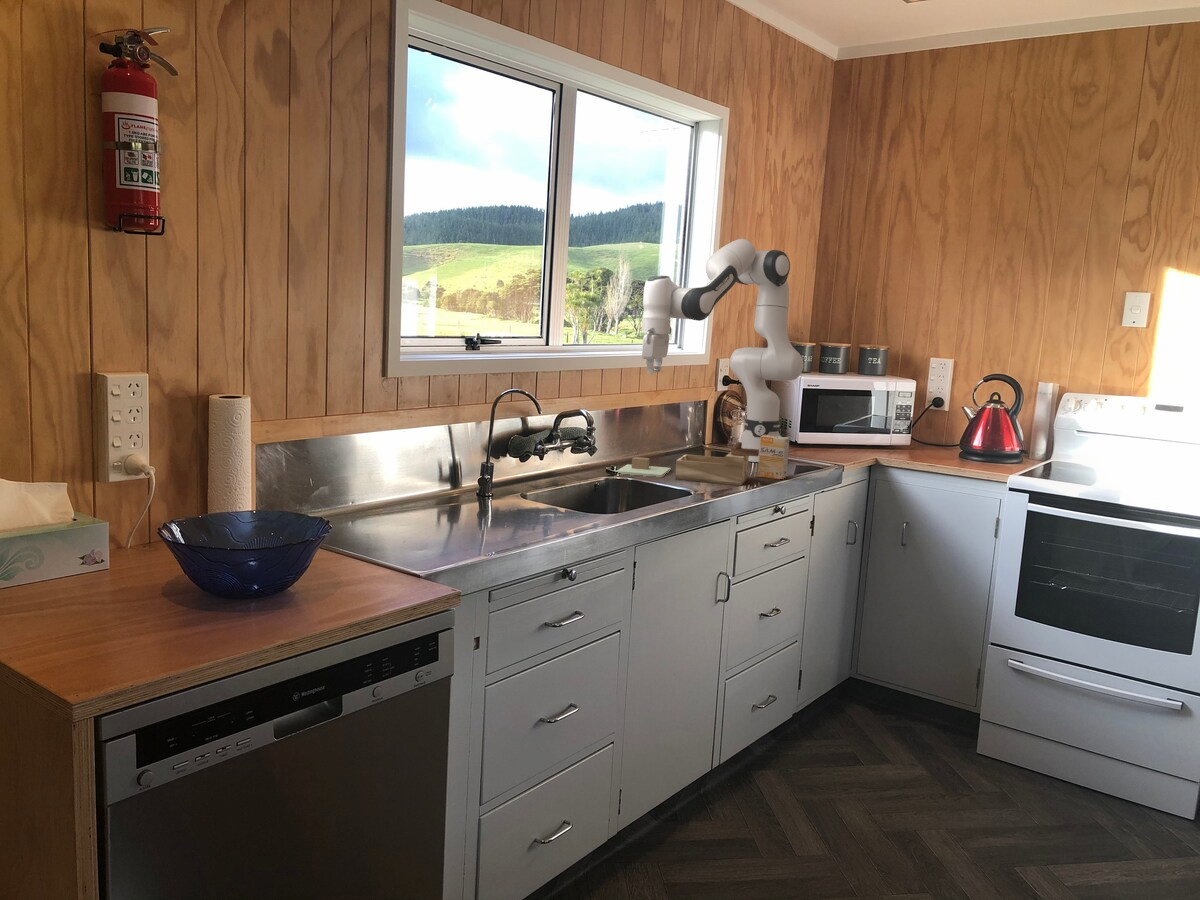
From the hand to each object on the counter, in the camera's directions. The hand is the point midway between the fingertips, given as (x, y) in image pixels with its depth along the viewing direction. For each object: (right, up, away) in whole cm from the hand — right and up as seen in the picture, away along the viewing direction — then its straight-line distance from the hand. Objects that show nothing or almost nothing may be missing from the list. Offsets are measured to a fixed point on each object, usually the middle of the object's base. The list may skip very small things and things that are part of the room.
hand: (654, 372), depth 301 cm
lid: (-3, -32, +1) cm, 32 cm away
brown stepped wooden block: (+27, -26, -13) cm, 39 cm away
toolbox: (+17, -33, -7) cm, 38 cm away
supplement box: (+37, -33, 0) cm, 50 cm away
